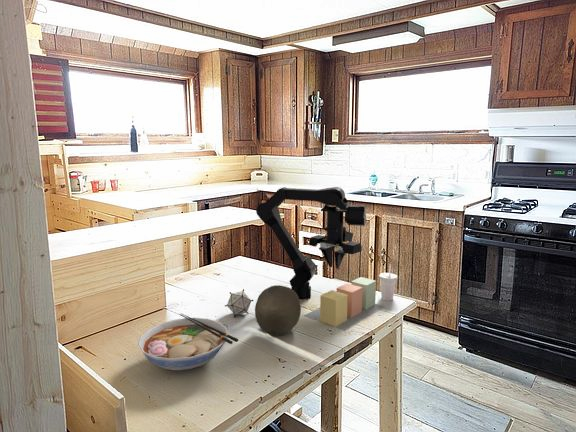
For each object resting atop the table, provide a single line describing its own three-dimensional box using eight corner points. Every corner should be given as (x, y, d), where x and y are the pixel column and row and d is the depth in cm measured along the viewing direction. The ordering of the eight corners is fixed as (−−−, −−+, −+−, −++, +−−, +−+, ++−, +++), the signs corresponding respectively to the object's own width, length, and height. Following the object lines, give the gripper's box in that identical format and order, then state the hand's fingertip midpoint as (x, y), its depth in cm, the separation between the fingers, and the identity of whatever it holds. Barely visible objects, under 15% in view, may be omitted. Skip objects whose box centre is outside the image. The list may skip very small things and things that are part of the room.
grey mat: (303, 319, 137) (303, 315, 136) (345, 297, 154) (345, 294, 154) (344, 334, 126) (344, 330, 126) (384, 309, 144) (384, 306, 143)
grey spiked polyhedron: (234, 325, 140) (214, 303, 139) (246, 308, 147) (228, 287, 145) (250, 320, 135) (230, 296, 133) (263, 302, 141) (244, 280, 139)
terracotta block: (336, 312, 139) (336, 288, 137) (346, 307, 143) (347, 283, 141) (351, 317, 135) (352, 292, 133) (361, 311, 139) (362, 287, 137)
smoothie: (391, 306, 146) (393, 267, 144) (374, 302, 150) (376, 264, 148) (399, 300, 151) (401, 263, 149) (382, 296, 155) (384, 260, 153)
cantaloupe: (245, 333, 127) (243, 286, 124) (281, 320, 136) (281, 275, 133) (274, 351, 116) (273, 300, 113) (311, 336, 125) (311, 288, 122)
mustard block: (320, 320, 132) (320, 295, 131) (331, 314, 137) (331, 290, 135) (335, 326, 128) (336, 300, 127) (346, 320, 133) (347, 294, 131)
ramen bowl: (122, 360, 112) (120, 331, 111) (196, 332, 128) (195, 307, 126) (170, 401, 95) (168, 368, 93) (249, 363, 110) (248, 334, 109)
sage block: (350, 304, 145) (351, 281, 143) (360, 299, 149) (361, 276, 148) (365, 309, 141) (366, 285, 139) (375, 304, 145) (376, 280, 144)
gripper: (371, 224, 144) (369, 268, 147) (327, 217, 156) (326, 258, 159) (352, 229, 135) (351, 276, 138) (308, 222, 148) (308, 264, 151)
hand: (334, 268), depth 147 cm, fingers open, 3 cm apart
